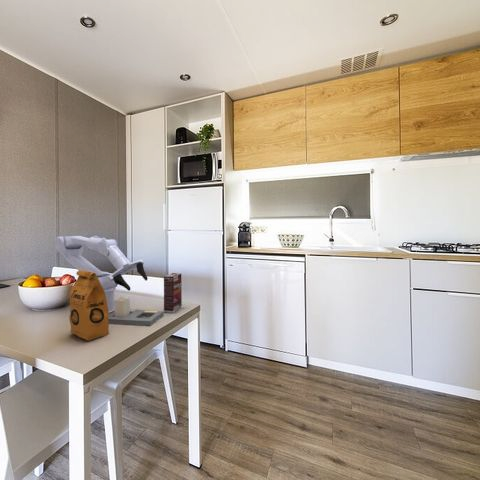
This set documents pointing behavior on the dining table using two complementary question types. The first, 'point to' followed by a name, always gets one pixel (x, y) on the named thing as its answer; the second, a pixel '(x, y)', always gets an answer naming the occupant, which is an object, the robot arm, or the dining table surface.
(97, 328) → the coffee package
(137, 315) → the jack panel
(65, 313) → the dining table surface
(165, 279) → the supplement box
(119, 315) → the plug block
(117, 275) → the robot arm
